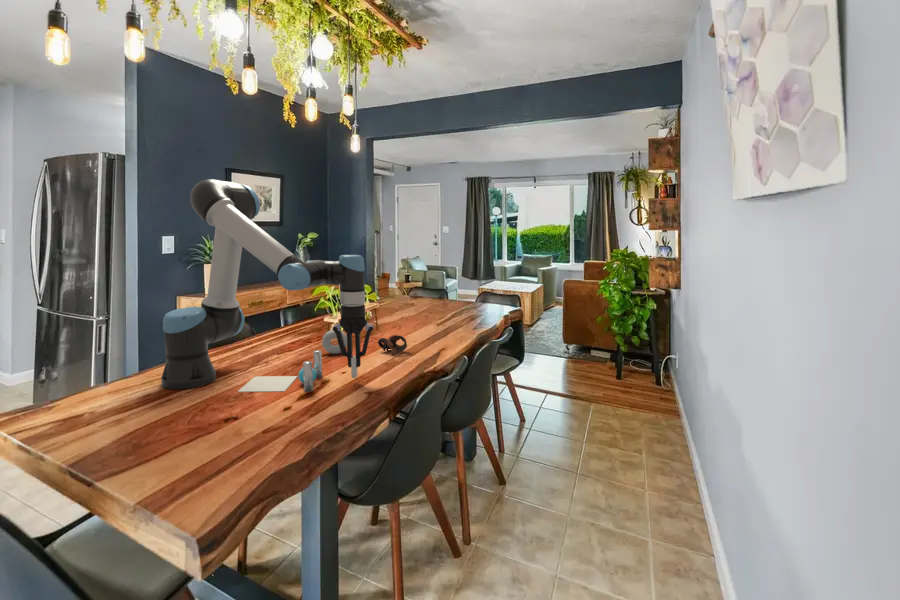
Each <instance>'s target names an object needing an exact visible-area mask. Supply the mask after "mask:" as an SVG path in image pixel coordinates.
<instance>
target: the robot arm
mask: <svg viewBox="0 0 900 600" xmlns="http://www.w3.org/2000/svg"><path fill="white" fill-rule="evenodd" d="M189 196H190V197H189V199H190V205H191V207H192V209H193V210H194V212H195V213H196V214H197V216H198V217H200V219H202V220H203V221H205V222H206V223H207V224H208V225H209V226H211V227H214V228H215V229H214V237H213V247H212V253H211V254H212V255H211V262H210V264H211V265H210V269H209V270H210V271H209V272H210V273H209V281H208V290H207V295H206V297H204V298H203V299H202V300H201V305H200V306H188V307H184V308H183V307H181V308H176V309H173V310H171V311H169V312H167V313H165V314H164V316H163V319H162V324H163V325H162V331H163V339H164V340H163V341H164V350H165V360H166V361H165V363H164V364H165V365H164V368H163V372H162V374H161V379H160V380H161V381H160V382H161V387H163V389H168V390H185V389H186V390H187V389H194V388H199V387H203V386H206V385H208V384H210V383H211V384H212V383H213V382H214V381H216V380H217V372H216V369H215V367H214V365H213V363H212V360H211V358H210V357H209V356H210V355H209V346H208V345H210V344H214V343H217V342H220V341H222V340H228V339H231V338H232V337H234V336H236V335H238V334H240V332H241V331H242V330H243V327H244V326H245V319H246V318H245V314H244V313H243V310H242V308H241V307H240V302H239V301H238V300H237V297H236V296H237V290H238V282H239V281H238V280H239V274H240V267H241V259H242V258H241V257H242V252H243V251H242V250H243V248H244V250H246V251H247V252H249V253H250V254H251V255H252V256H253V257H255V258H256V259H258V260H259V262H261V263H262V264H264V265H265V266H266V267H267V268H269V269H270V270H271V271H272V272H273V273H275V274H276V275H277V278H278V281H279V283H280V286H281V287H282V288H283V289H285V290H287V291H301V290H305V289H309V288H313V287H314V288H315V287H320V286H323V285H326V286H329V285H331V286H332V285H333V286H335V285H336V286H339V290H340V291H339V293H340V295H339V297H340V300H339V301H340V304H341V305H340V319H339V323H337V324H335V325H334V326H333V327H332V329H331V330H333V331H334V332H335V333H336V336H337V338H336V339H337V343H338V344H339V347H340V350H341V353H340V355H341V356H343V357H346V358H347V366H348V368H350V372H351V373H350V374H351V379H357V378H358V368H360V367H361V364H362V363H361V361H362V359H361V357H365V355H366V354H367V350H368V346H369V342H370V337H371V334H372V331H374V329H375V325H373V324H369V323H368V320H367V319H366V305H365V304H366V303H365V302H366V292H365V290H366V289H365V271H366V269H365V262H364V261H365V259H364V257H363V256H362V255H360V254H341V255H340V256H339V259H338V260H320V259H315V260H314V259H313V260H307V261H306V262H305V261H303V260H301V259H300V258H299V257H298V256H296V255H295V253H293V252H291V251H290V250H289V249H287V247H285V246H284V245H283V244H281V243H280V242H279V241H277V239H275V238H274V237H272V236H271V235H270V234H269V233H267V232H266V231H265V230H264V229H263V228H261V227H260V226H259V225H258V224H256V223H255V222H254V221H253V219H255V218H256V217H257V216H258V214H259V213H260V211H261V210H260V209H261V203H260V198H259V196H258V194H257V193H256V192H255V190H254V189H253V188H252V187H250V186H249V185H246V184H243V183H239V182H234V181H225V180H219V179H212V178H211V179H210V178H208V179H204V180H201V181H200V182H197V183H196V184H195V185H194V186H193V188H192V190H191V191H190V195H189ZM364 328H365V331H366V333H365V336H364V340H363V345H362V350H361V333H362V331H363V329H364ZM342 330H343V332H344V333H345V334H346V336H347V347H345V344H344V340H343V337H342V333H341V331H342ZM353 334H354V339H355V340H354V341H355V344H354V346H355V355H354V354H353Z"/></svg>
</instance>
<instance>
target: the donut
mask: <svg viewBox="0 0 900 600" xmlns="http://www.w3.org/2000/svg"><path fill="white" fill-rule="evenodd" d="M340 331H341V333H342V337H343V340H344V344H345V347H346V348H347V334H346V332H344V331H342V330H340ZM333 339H337V336H336V333H335V332H334V331H333V329H331V330H329V331H327V332H325V333H324V334H323V337H322V339H321V346H322V347H323V348H324V351H326V352H327V353H329V354H333V355H337V354H341V350H340V347H339V343H338V344H335V345H334V344H332V340H333Z"/></svg>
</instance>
